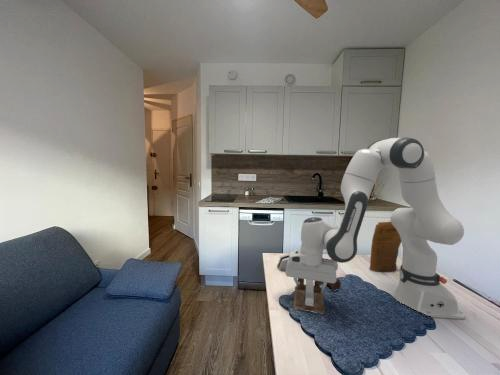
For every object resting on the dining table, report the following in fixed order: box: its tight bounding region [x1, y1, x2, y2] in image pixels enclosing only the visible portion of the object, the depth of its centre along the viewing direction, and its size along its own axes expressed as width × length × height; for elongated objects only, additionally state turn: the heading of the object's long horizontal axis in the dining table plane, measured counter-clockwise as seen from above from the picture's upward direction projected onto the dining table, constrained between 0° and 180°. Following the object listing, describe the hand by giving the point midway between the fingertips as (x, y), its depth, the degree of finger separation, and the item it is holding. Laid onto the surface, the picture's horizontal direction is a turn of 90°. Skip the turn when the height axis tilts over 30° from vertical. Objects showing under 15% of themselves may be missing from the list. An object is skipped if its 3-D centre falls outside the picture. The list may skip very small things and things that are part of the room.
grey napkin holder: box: [276, 253, 290, 271], centre depth 119 cm, size 17×5×10 cm, turn 100°
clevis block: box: [292, 278, 326, 315], centre depth 91 cm, size 12×15×7 cm
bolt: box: [326, 277, 341, 291], centre depth 105 cm, size 6×5×15 cm
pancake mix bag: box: [368, 221, 402, 273], centre depth 118 cm, size 7×19×28 cm, turn 97°
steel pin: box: [305, 279, 314, 306], centre depth 91 cm, size 3×16×3 cm, turn 165°
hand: (309, 288), depth 91 cm, fingers open, 8 cm apart
